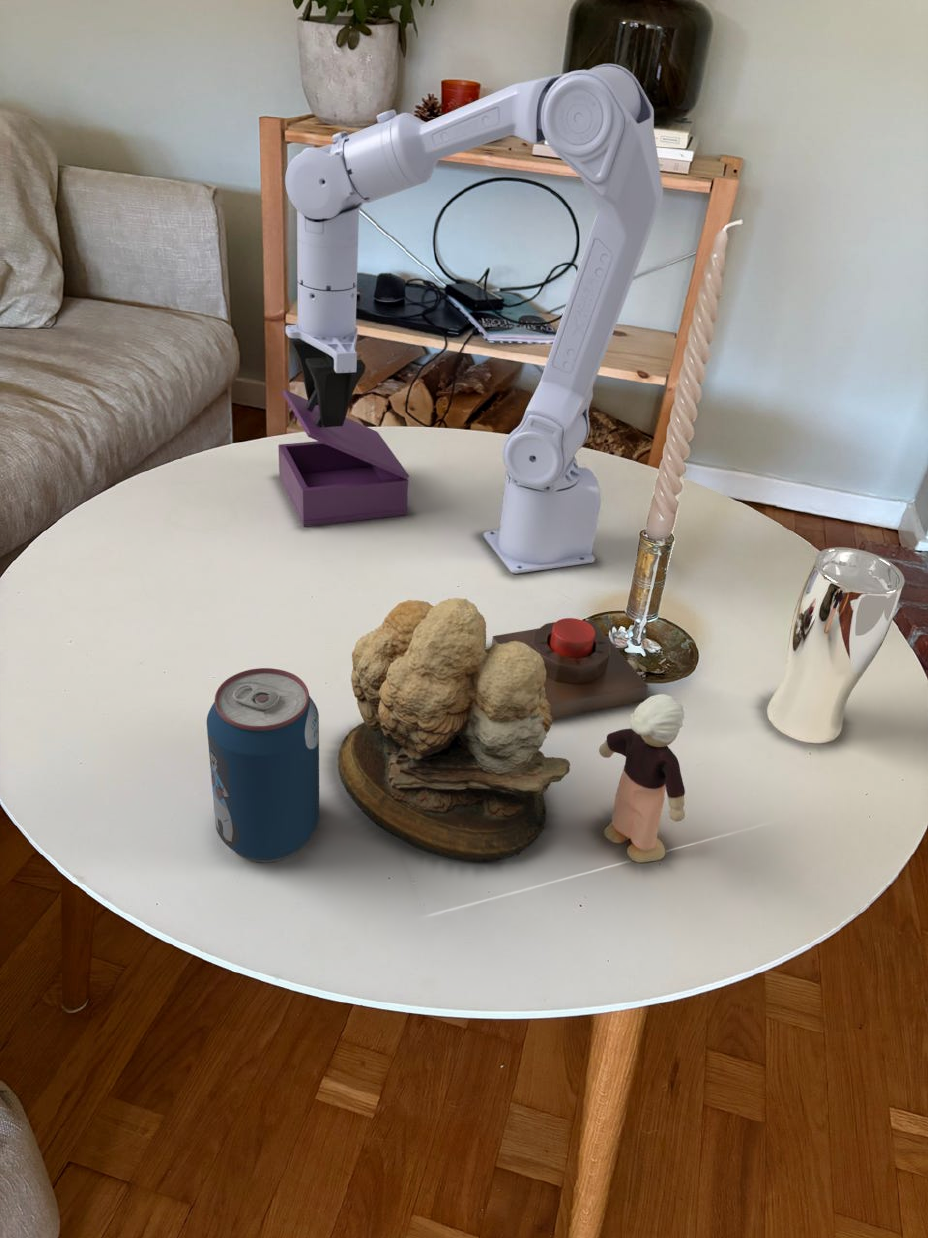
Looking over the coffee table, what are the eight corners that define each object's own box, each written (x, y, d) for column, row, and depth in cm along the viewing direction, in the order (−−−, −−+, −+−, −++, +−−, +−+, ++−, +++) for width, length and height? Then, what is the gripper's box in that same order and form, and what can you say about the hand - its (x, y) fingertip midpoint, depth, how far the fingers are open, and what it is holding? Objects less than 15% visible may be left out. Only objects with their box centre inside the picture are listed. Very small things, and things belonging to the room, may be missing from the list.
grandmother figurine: (688, 851, 68) (731, 715, 60) (659, 882, 65) (701, 743, 58) (599, 794, 71) (630, 659, 64) (569, 821, 69) (597, 684, 62)
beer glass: (853, 714, 82) (914, 565, 73) (835, 760, 77) (899, 605, 68) (773, 683, 85) (824, 536, 76) (751, 726, 79) (802, 573, 71)
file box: (303, 526, 100) (302, 491, 98) (279, 478, 109) (278, 444, 106) (406, 515, 104) (408, 480, 102) (375, 468, 113) (376, 435, 110)
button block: (589, 634, 88) (595, 602, 87) (644, 701, 81) (652, 668, 79) (490, 651, 85) (494, 618, 83) (538, 722, 78) (543, 689, 76)
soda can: (336, 813, 68) (338, 680, 61) (287, 884, 62) (283, 747, 56) (251, 782, 69) (243, 650, 63) (196, 849, 64) (181, 712, 57)
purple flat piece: (307, 436, 95) (327, 400, 93) (282, 392, 103) (299, 359, 102) (407, 479, 102) (426, 446, 100) (375, 435, 110) (393, 404, 109)
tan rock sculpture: (589, 802, 71) (632, 612, 61) (504, 904, 62) (537, 704, 53) (397, 700, 78) (407, 517, 69) (298, 780, 70) (293, 584, 60)
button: (579, 631, 83) (583, 615, 82) (599, 655, 81) (603, 638, 80) (542, 637, 82) (545, 621, 81) (561, 662, 79) (564, 645, 78)
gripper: (269, 261, 96) (272, 389, 104) (304, 307, 86) (304, 446, 93) (337, 260, 99) (335, 386, 107) (380, 305, 88) (374, 441, 96)
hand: (325, 414), depth 100 cm, fingers closed on purple flat piece, 5 cm apart
